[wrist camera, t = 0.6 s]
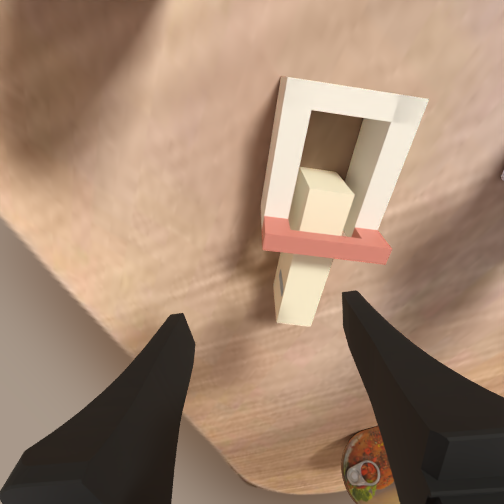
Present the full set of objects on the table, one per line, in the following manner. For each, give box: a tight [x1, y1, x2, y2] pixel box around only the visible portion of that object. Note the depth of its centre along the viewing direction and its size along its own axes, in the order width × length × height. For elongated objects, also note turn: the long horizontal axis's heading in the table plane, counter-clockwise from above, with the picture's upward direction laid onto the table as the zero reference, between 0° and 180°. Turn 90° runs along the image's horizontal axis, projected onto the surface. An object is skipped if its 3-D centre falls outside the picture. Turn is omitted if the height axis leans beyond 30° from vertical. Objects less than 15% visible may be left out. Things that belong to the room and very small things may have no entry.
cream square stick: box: [273, 167, 355, 327], centre depth 21 cm, size 3×10×4 cm, turn 172°
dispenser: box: [261, 76, 429, 265], centre depth 17 cm, size 7×8×6 cm
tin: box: [341, 426, 400, 504], centre depth 32 cm, size 15×3×8 cm, turn 120°
